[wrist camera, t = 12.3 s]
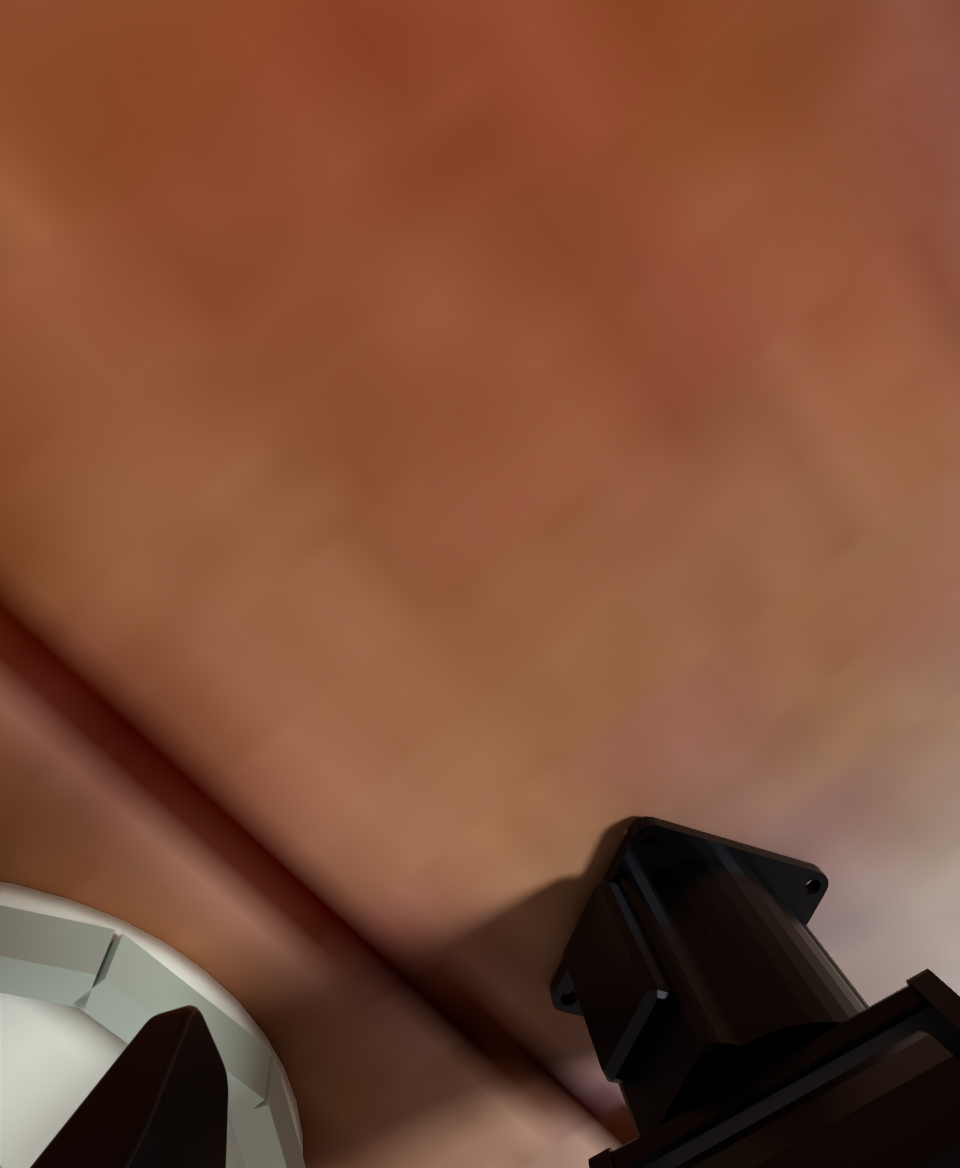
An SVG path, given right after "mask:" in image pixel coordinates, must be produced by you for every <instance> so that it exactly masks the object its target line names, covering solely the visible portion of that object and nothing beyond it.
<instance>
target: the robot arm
mask: <svg viewBox="0 0 960 1168" xmlns="http://www.w3.org/2000/svg"><path fill="white" fill-rule="evenodd" d="M647 833H653V835H652V836H651V837H650V838H648V839H646V840H641V839H642V837H643V836H644V835H645V834H647ZM810 880H812V881H811V882H810V883H809V884H807V885H806V883H807V882H808V881H810ZM827 888H828V879H827V877H826V876H825V874H824V873H823V872H822V871H821V870H820V869H819V868H818V867H817V866H815V865H814V864H811V863H807V862H804V861H801V860H797V859H794V858H790V857H787V856H784V855H780V854H777V853H773V852H770V851H767V850H763V849H760V848H756V847H753V846H749V845H746V844H743V843H739V842H736V841H732V840H729V839H726V838H722V837H719V836H715V835H712V834H709V833H705V832H702V831H698V830H695V829H692V828H688V827H685V826H681V825H678V824H674V823H671V822H668V821H664V820H661V819H657V818H654V817H647V816H646V817H642V818H639V819H637V820H636V821H634V822H633V823H632V825H631V826H630V827H629V829H628V831H627V833H626V835H625V837H624V839H623V841H622V843H621V845H620V847H619V849H618V851H617V853H616V855H615V857H614V859H613V861H612V863H611V865H610V867H609V869H608V871H607V873H606V875H605V877H604V879H603V880H602V881H601V882H600V883H599V884H598V885H597V886H596V888H595V890H594V892H593V894H592V896H591V898H590V900H589V902H588V904H587V906H586V908H585V910H584V912H583V914H582V916H581V918H580V920H579V922H578V924H577V926H576V928H575V930H574V932H573V934H572V936H571V938H570V940H569V942H568V944H567V946H566V948H565V950H564V952H563V956H564V958H563V960H562V962H561V964H560V966H559V968H558V970H557V972H556V974H555V976H554V978H553V980H552V982H551V985H550V988H549V991H550V995H551V999H552V1002H553V1005H554V1007H555V1008H556V1009H557V1010H560V1011H562V1012H566V1013H571V1014H575V1015H580V1016H584V1018H585V1021H586V1024H587V1027H588V1030H589V1033H590V1036H591V1039H592V1042H593V1045H594V1048H595V1051H596V1054H597V1057H598V1060H599V1063H600V1066H601V1069H602V1071H603V1073H604V1075H605V1077H606V1079H607V1080H608V1081H609V1082H614V1083H619V1086H620V1089H621V1092H622V1095H623V1097H624V1100H625V1103H626V1106H627V1109H628V1112H629V1114H630V1117H631V1120H632V1123H633V1126H634V1129H635V1131H636V1134H637V1138H635V1139H634V1140H632V1141H630V1142H628V1143H626V1144H625V1145H623V1146H621V1147H619V1148H617V1149H616V1150H614V1151H613V1150H612V1149H611V1148H608V1149H606V1150H604V1151H602V1152H601V1153H599V1154H597V1155H595V1156H593V1157H592V1158H590V1159H589V1168H960V996H958V995H957V994H956V993H955V992H954V991H953V990H952V989H951V988H949V987H948V986H947V985H946V984H945V983H944V982H943V981H941V980H940V979H939V978H938V977H937V976H936V975H935V974H934V973H932V972H931V971H930V970H929V969H926V970H924V971H922V972H921V973H919V974H917V975H915V976H913V977H912V978H910V979H908V980H906V982H907V984H908V985H907V986H906V987H904V988H902V989H900V990H899V991H897V992H895V993H893V994H891V995H890V996H888V997H886V998H884V999H883V1000H881V1001H879V1002H877V1003H875V1004H874V1005H872V1006H870V1007H869V1006H868V1005H867V1003H866V1002H865V1001H864V999H863V998H862V997H861V996H860V994H859V993H858V992H857V990H856V989H855V988H854V986H853V985H852V984H851V983H850V981H849V980H848V979H847V977H846V976H845V975H844V974H843V972H842V971H841V970H840V968H839V967H838V966H837V964H836V963H835V962H834V961H833V959H832V958H831V957H830V955H829V954H828V953H827V951H826V950H825V949H824V948H823V946H822V945H821V944H820V942H819V941H818V940H817V939H816V937H815V936H814V935H813V933H812V932H811V931H810V929H809V928H808V927H807V926H806V925H807V923H808V922H809V920H810V918H811V916H812V915H813V913H814V911H815V910H816V908H817V906H818V904H819V903H820V901H821V899H822V898H823V896H824V894H825V892H826V890H827ZM568 991H572V992H571V993H569V994H564V993H565V992H568ZM227 1120H228V1079H227V1073H226V1069H225V1066H224V1063H223V1060H222V1058H221V1056H220V1054H219V1051H218V1049H217V1047H216V1044H215V1042H214V1040H213V1037H212V1035H211V1033H210V1031H209V1028H208V1026H207V1024H206V1021H205V1019H204V1017H203V1015H202V1013H201V1012H200V1010H199V1009H198V1008H197V1007H195V1006H192V1005H187V1006H184V1007H180V1008H177V1009H173V1010H170V1011H166V1012H163V1013H160V1014H157V1015H155V1016H153V1017H151V1018H150V1019H149V1020H148V1021H147V1022H146V1023H145V1024H144V1026H143V1027H142V1028H141V1029H140V1031H139V1032H138V1033H137V1034H136V1036H135V1037H134V1038H133V1039H132V1041H131V1042H130V1043H129V1044H128V1046H127V1047H126V1048H125V1049H124V1051H123V1052H122V1053H121V1054H120V1056H119V1057H118V1058H117V1059H116V1061H115V1062H114V1063H113V1064H112V1066H111V1067H110V1068H109V1069H108V1071H107V1072H106V1073H105V1074H104V1076H103V1077H102V1078H101V1079H100V1081H99V1082H98V1083H97V1084H96V1086H95V1087H94V1088H93V1089H92V1091H91V1092H90V1093H89V1094H88V1096H87V1097H86V1098H85V1099H84V1101H83V1102H82V1103H81V1104H80V1106H79V1107H78V1108H77V1109H76V1111H75V1112H74V1113H73V1114H72V1116H71V1117H70V1118H69V1119H68V1121H67V1122H66V1123H65V1124H64V1126H63V1127H62V1128H61V1129H60V1131H59V1132H58V1133H57V1134H56V1136H55V1137H54V1138H53V1139H52V1141H51V1142H50V1143H49V1144H48V1146H47V1147H46V1148H45V1149H44V1151H43V1152H42V1153H41V1154H40V1156H39V1157H38V1158H37V1159H36V1161H35V1162H34V1163H33V1164H32V1166H31V1167H30V1168H226V1150H227Z"/></svg>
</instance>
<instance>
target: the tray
mask: <svg viewBox="0 0 960 1168" xmlns="http://www.w3.org/2000/svg"><path fill="white" fill-rule="evenodd" d="M187 1005H192V1006H195V1007H197V1008H198V1009H199V1010H200V1012H201V1013H202V1015H203V1017H204V1019H205V1021H206V1024H207V1026H208V1028H209V1031H210V1033H211V1035H212V1037H213V1040H214V1042H215V1044H216V1047H217V1049H218V1051H219V1054H220V1056H221V1058H222V1060H223V1063H224V1066H225V1069H226V1073H227V1079H228V1120H227V1150H226V1168H306V1166H305V1163H304V1159H303V1134H302V1129H301V1123H300V1118H299V1112H298V1107H297V1101H296V1098H295V1096H294V1093H293V1090H292V1088H291V1085H290V1082H289V1080H288V1077H287V1074H286V1071H285V1069H284V1066H283V1065H282V1063H281V1061H280V1059H279V1058H278V1056H277V1054H276V1053H275V1051H274V1049H273V1047H272V1046H271V1044H270V1042H269V1040H268V1039H267V1037H266V1035H265V1033H264V1032H263V1031H262V1030H261V1029H260V1027H259V1026H258V1025H257V1024H256V1022H255V1021H254V1020H253V1019H252V1017H251V1016H250V1015H249V1014H248V1012H247V1011H246V1010H245V1009H244V1008H243V1006H242V1005H241V1004H240V1003H239V1001H238V1000H237V999H235V998H234V997H233V996H232V995H231V994H230V993H229V992H228V991H227V990H226V989H225V988H224V987H222V986H221V985H220V984H219V983H218V982H217V981H216V980H215V979H214V978H213V977H212V976H211V975H209V974H208V973H207V972H206V971H205V970H204V969H202V968H201V967H199V966H198V965H196V964H195V963H194V962H192V961H191V960H189V959H188V958H186V957H185V956H184V955H182V954H181V953H179V952H178V951H177V950H175V949H174V948H172V947H171V946H169V945H168V944H167V943H165V942H163V941H161V940H159V939H157V938H155V937H154V936H152V935H150V934H148V933H146V932H144V931H142V930H140V929H138V928H137V927H135V926H133V925H131V924H129V923H127V922H125V921H123V920H122V919H119V918H117V917H114V916H112V915H109V914H107V913H104V912H102V911H99V910H96V909H94V908H91V907H89V906H86V905H84V904H81V903H79V902H76V901H74V900H71V899H68V898H64V897H61V896H57V895H53V894H50V893H46V892H42V891H39V890H35V889H32V888H28V887H24V886H21V885H17V884H13V883H7V882H1V881H0V1168H30V1167H31V1166H32V1164H33V1163H34V1162H35V1161H36V1159H37V1158H38V1157H39V1156H40V1154H41V1153H42V1152H43V1151H44V1149H45V1148H46V1147H47V1146H48V1144H49V1143H50V1142H51V1141H52V1139H53V1138H54V1137H55V1136H56V1134H57V1133H58V1132H59V1131H60V1129H61V1128H62V1127H63V1126H64V1124H65V1123H66V1122H67V1121H68V1119H69V1118H70V1117H71V1116H72V1114H73V1113H74V1112H75V1111H76V1109H77V1108H78V1107H79V1106H80V1104H81V1103H82V1102H83V1101H84V1099H85V1098H86V1097H87V1096H88V1094H89V1093H90V1092H91V1091H92V1089H93V1088H94V1087H95V1086H96V1084H97V1083H98V1082H99V1081H100V1079H101V1078H102V1077H103V1076H104V1074H105V1073H106V1072H107V1071H108V1069H109V1068H110V1067H111V1066H112V1064H113V1063H114V1062H115V1061H116V1059H117V1058H118V1057H119V1056H120V1054H121V1053H122V1052H123V1051H124V1049H125V1048H126V1047H127V1046H128V1044H129V1043H130V1042H131V1041H132V1039H133V1038H134V1037H135V1036H136V1034H137V1033H138V1032H139V1031H140V1029H141V1028H142V1027H143V1026H144V1024H145V1023H146V1022H147V1021H148V1020H149V1019H150V1018H151V1017H153V1016H155V1015H157V1014H160V1013H163V1012H166V1011H170V1010H173V1009H177V1008H180V1007H184V1006H187Z"/></svg>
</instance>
